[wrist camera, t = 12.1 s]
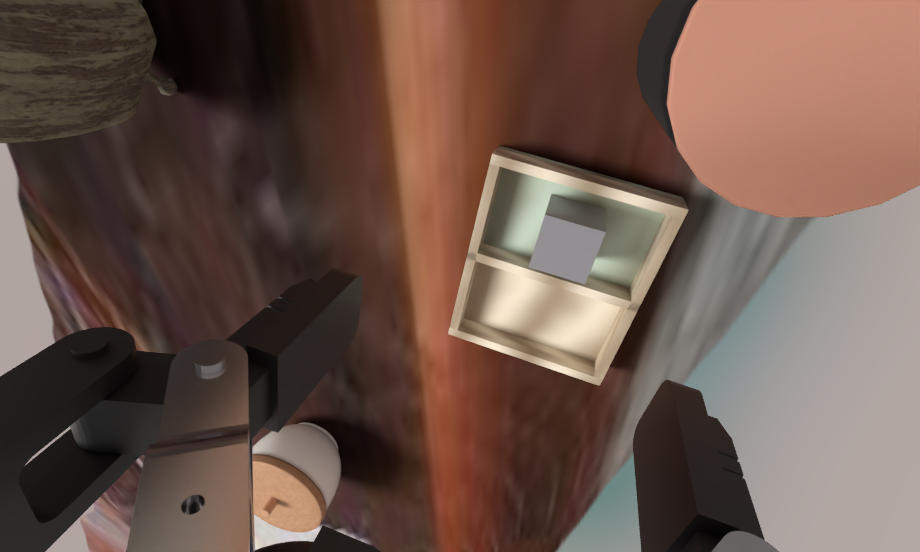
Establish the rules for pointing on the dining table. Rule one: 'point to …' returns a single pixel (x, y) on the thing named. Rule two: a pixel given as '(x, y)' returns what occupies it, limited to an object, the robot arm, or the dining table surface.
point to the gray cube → (569, 239)
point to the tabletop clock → (72, 66)
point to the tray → (549, 296)
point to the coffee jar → (789, 99)
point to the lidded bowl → (295, 476)
